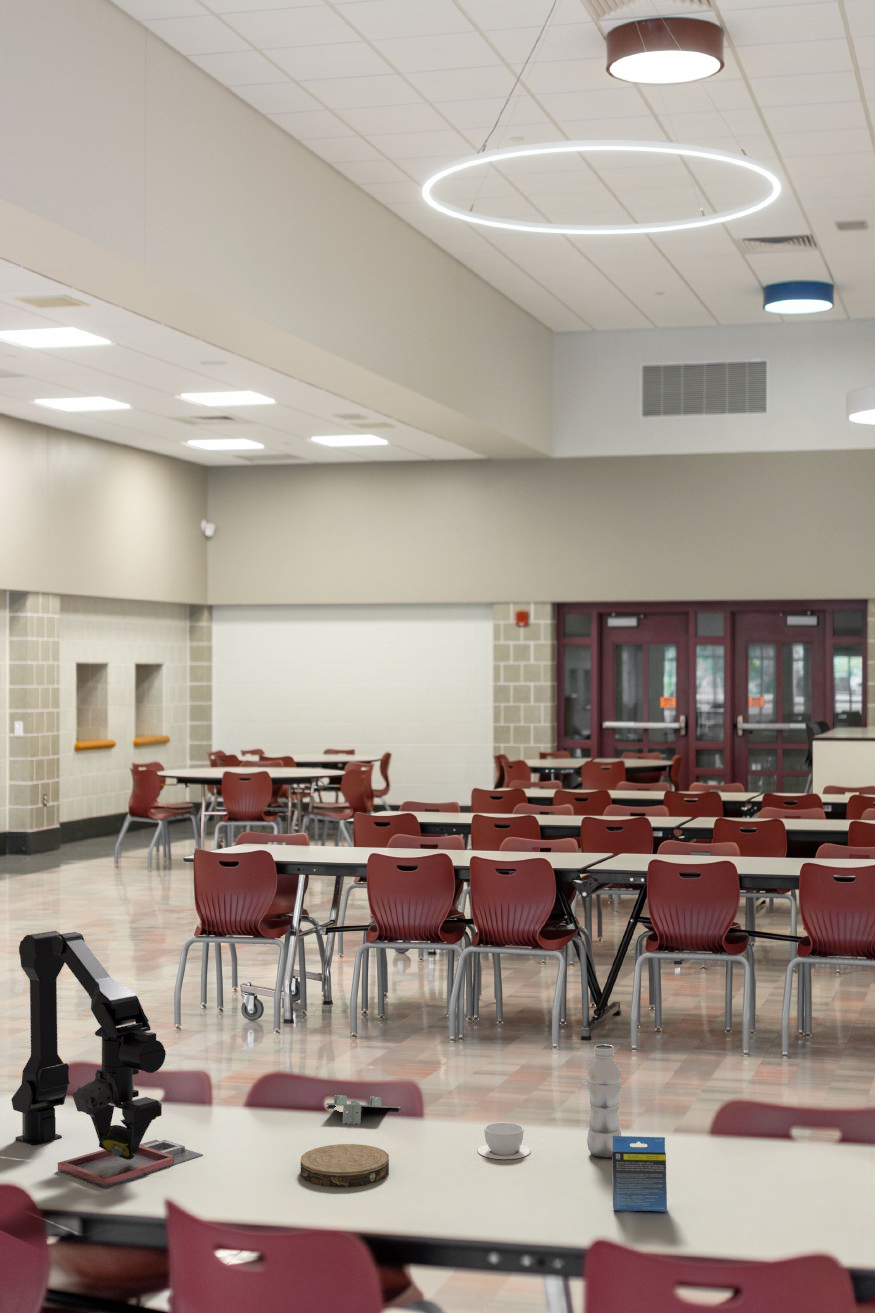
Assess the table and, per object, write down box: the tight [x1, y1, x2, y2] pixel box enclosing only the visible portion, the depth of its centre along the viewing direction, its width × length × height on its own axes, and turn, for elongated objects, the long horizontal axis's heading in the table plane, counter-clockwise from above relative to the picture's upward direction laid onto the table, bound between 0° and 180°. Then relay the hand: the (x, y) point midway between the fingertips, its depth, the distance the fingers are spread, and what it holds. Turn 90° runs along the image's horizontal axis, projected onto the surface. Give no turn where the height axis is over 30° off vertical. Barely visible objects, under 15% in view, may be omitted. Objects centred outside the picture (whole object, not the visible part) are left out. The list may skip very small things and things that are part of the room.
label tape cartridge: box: [611, 1135, 668, 1213], centre depth 243 cm, size 9×4×12 cm, turn 83°
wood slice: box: [300, 1143, 390, 1189], centre depth 262 cm, size 16×16×3 cm
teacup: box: [477, 1121, 532, 1160], centre depth 273 cm, size 10×10×5 cm
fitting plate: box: [57, 1139, 204, 1190], centre depth 267 cm, size 14×22×2 cm, turn 139°
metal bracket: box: [325, 1094, 401, 1125], centre depth 296 cm, size 14×6×15 cm
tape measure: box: [98, 1124, 139, 1160], centre depth 264 cm, size 7×7×4 cm
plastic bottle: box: [586, 1044, 622, 1158], centre depth 271 cm, size 6×7×20 cm
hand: (117, 1150), depth 265 cm, fingers closed on tape measure, 8 cm apart
